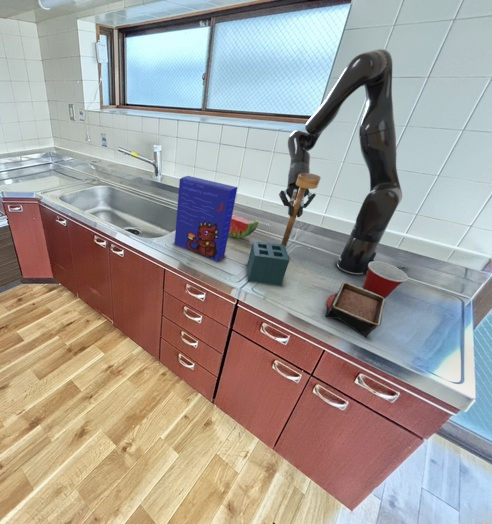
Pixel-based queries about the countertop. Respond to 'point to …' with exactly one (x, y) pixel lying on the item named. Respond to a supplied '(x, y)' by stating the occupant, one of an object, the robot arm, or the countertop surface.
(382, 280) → the plastic cup
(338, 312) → the baking dish
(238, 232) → the fruit slice
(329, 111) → the robot arm
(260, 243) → the holder
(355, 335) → the countertop surface
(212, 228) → the cereal box
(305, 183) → the wooden mallet
